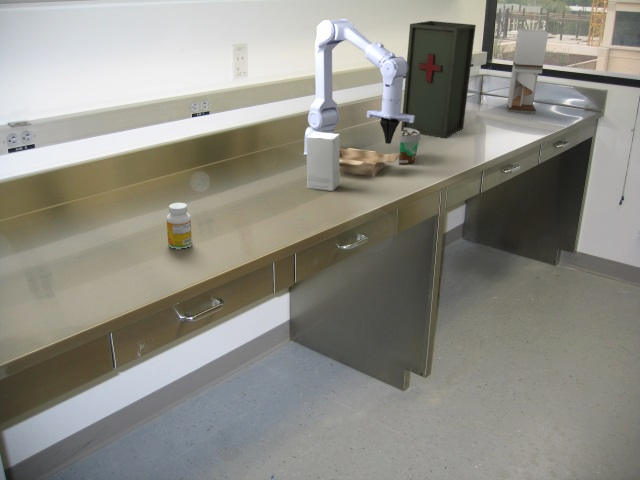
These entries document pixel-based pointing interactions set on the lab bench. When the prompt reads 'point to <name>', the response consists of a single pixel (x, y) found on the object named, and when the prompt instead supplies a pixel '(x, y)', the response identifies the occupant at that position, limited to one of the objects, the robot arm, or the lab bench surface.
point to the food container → (408, 146)
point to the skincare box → (323, 161)
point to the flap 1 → (351, 162)
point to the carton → (368, 157)
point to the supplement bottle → (179, 226)
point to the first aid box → (438, 76)
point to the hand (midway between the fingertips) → (388, 142)
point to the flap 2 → (389, 158)
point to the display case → (526, 69)
